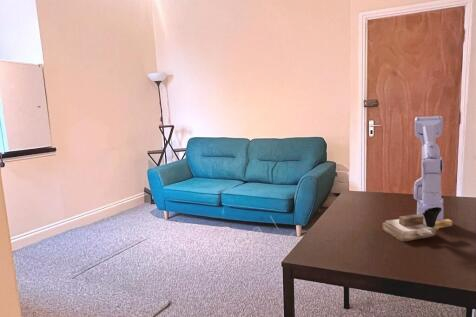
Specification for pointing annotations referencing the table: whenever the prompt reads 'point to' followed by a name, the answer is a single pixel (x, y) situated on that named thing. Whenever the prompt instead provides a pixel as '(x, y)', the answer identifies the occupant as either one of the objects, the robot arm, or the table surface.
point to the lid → (411, 225)
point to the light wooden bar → (443, 223)
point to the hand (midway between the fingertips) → (430, 226)
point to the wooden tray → (402, 236)
